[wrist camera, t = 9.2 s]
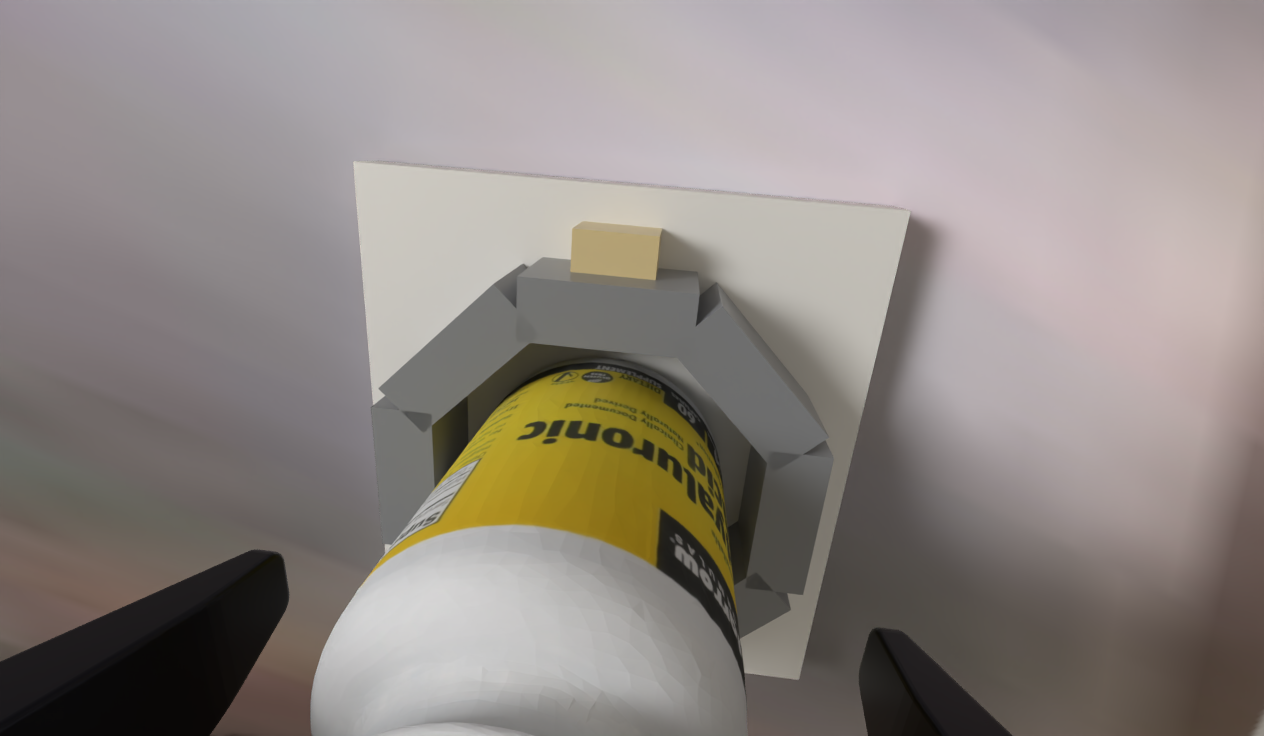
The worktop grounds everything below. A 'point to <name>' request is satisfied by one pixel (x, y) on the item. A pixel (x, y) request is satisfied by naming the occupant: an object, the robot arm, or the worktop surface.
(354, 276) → the worktop surface
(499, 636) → the supplement bottle
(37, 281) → the worktop surface
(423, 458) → the socket base
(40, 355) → the worktop surface
